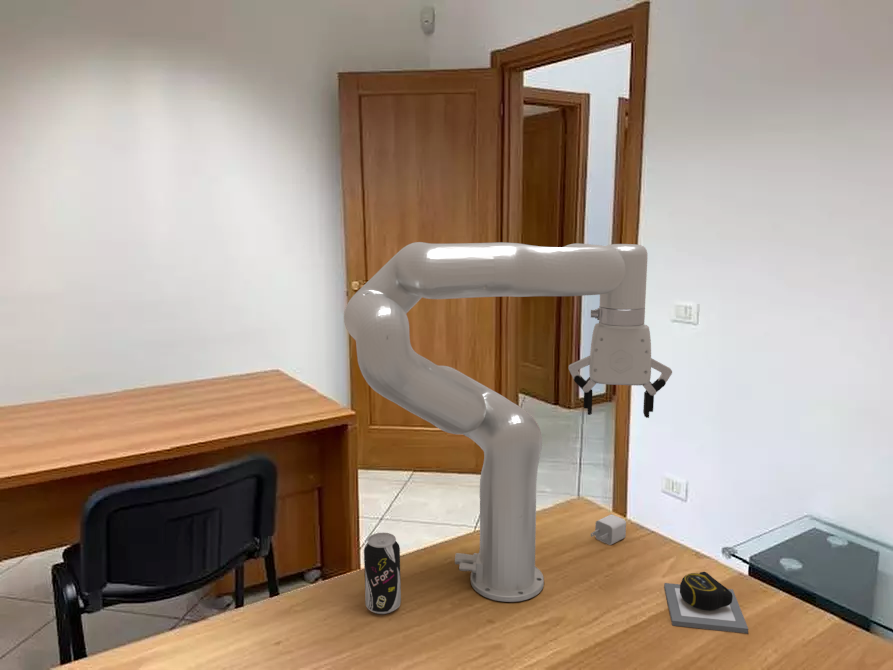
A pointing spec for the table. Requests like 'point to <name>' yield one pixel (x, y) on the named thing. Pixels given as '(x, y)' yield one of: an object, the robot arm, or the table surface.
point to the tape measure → (704, 592)
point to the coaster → (704, 613)
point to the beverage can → (382, 573)
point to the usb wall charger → (610, 529)
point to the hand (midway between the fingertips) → (617, 414)
